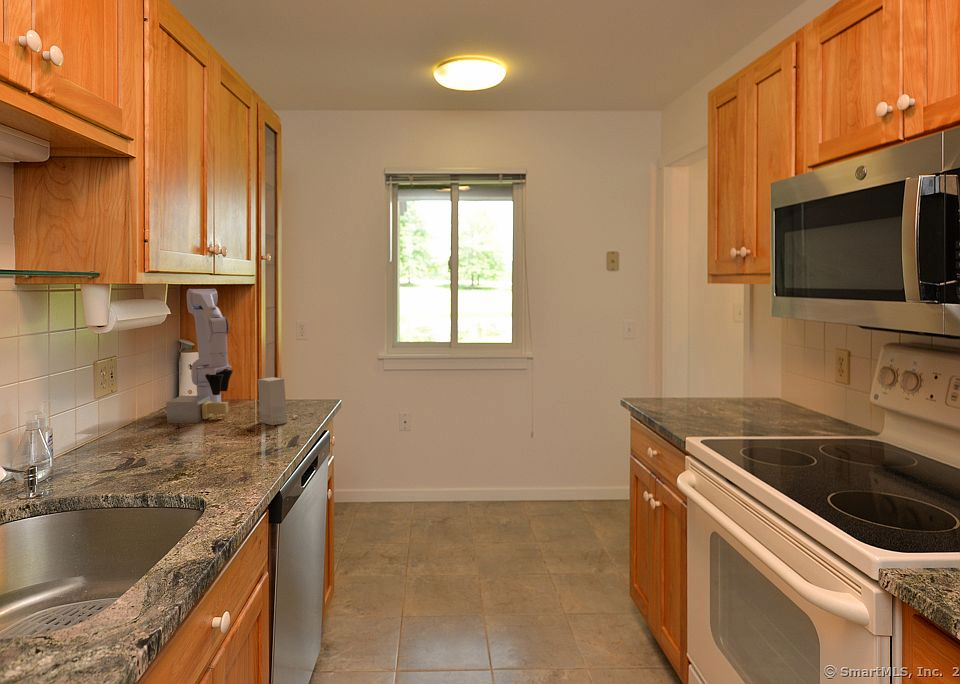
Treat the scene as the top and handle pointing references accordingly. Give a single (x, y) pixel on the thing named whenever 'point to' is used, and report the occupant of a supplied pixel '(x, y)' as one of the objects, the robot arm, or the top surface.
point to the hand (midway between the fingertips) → (220, 393)
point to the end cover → (214, 408)
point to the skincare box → (272, 401)
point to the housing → (186, 409)
